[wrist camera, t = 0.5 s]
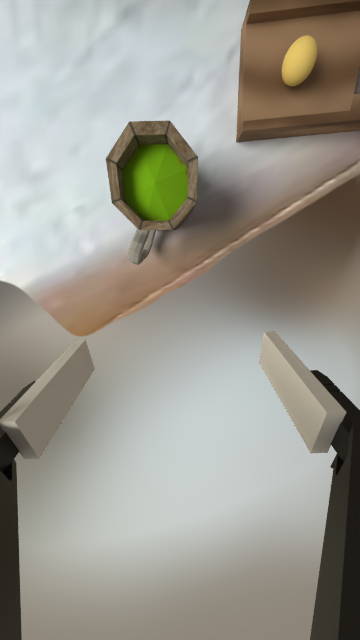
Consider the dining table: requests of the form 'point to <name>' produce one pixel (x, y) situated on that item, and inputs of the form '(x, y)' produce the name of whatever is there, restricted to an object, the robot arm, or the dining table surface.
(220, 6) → the dining table surface
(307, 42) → the ball
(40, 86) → the dining table surface
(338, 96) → the lane board
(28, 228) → the dining table surface
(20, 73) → the dining table surface
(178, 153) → the mug
